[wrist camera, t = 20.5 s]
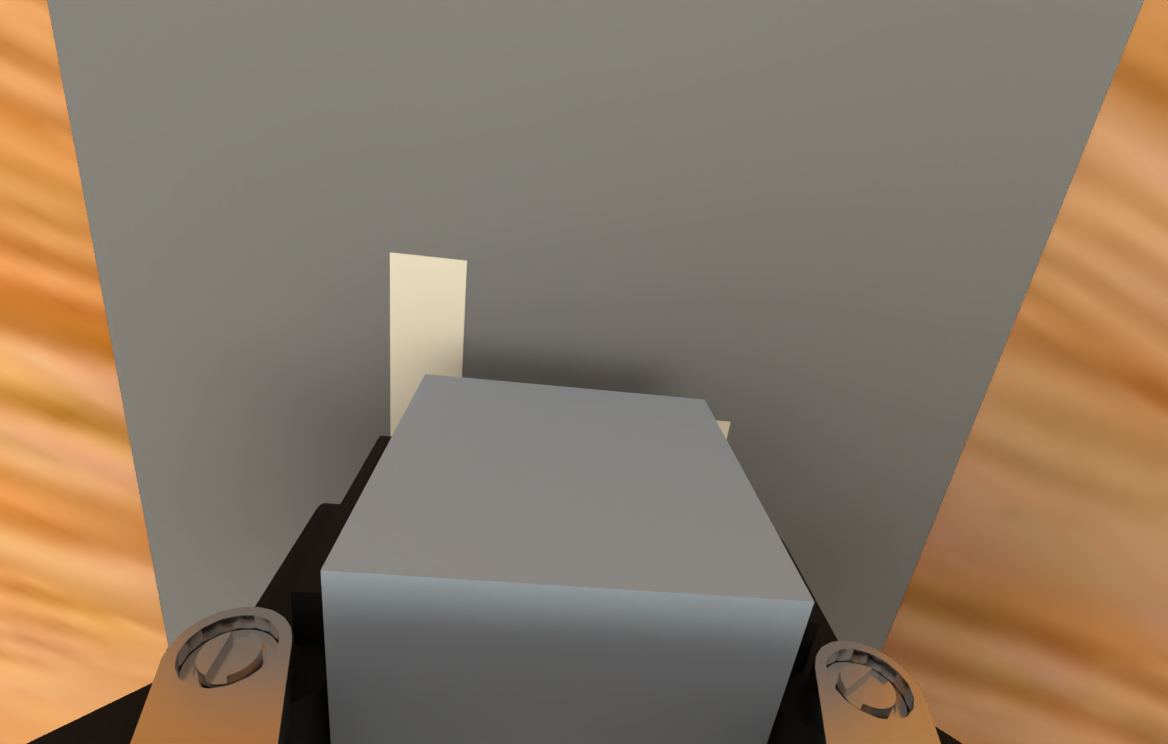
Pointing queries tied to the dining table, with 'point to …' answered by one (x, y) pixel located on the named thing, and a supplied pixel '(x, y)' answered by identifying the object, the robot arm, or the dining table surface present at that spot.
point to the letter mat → (569, 241)
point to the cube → (558, 577)
